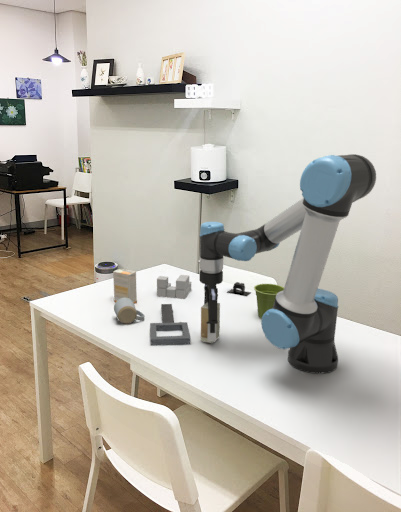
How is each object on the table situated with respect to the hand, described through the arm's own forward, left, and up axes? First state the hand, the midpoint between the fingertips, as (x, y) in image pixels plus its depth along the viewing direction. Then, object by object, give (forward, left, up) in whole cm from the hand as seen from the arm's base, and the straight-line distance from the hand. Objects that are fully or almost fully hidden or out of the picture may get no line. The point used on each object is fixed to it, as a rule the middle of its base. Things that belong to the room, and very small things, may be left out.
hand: (210, 335), depth 163 cm
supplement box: (+37, +29, -2) cm, 48 cm away
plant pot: (+19, -25, -2) cm, 31 cm away
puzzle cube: (+47, +9, -2) cm, 48 cm away
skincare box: (0, 0, -1) cm, 1 cm away
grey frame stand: (+13, +13, -2) cm, 19 cm away
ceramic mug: (+19, +27, -2) cm, 34 cm away
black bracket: (+46, -19, -3) cm, 50 cm away
